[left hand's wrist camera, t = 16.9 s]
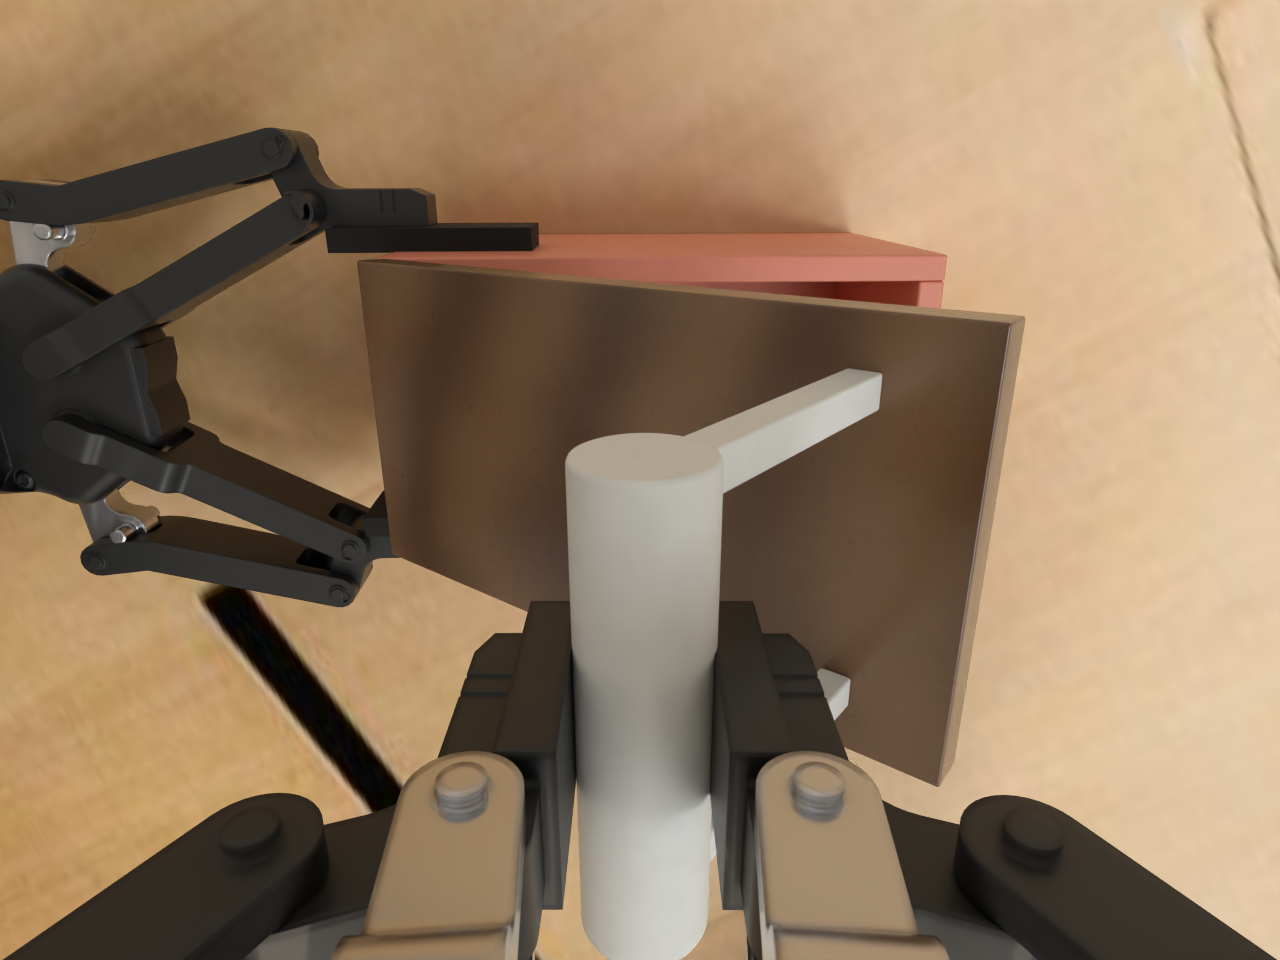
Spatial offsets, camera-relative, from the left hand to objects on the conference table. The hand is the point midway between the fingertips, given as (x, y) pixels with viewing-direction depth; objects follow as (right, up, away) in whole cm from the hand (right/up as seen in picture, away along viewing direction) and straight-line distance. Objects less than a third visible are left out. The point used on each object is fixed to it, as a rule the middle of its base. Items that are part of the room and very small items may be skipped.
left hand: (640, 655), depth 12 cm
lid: (0, +3, +8) cm, 9 cm away
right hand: (-4, +6, +17) cm, 18 cm away
